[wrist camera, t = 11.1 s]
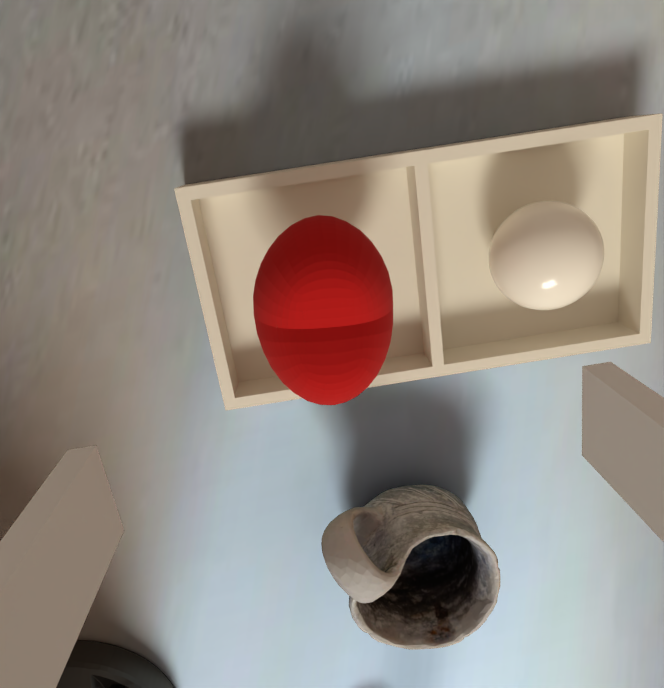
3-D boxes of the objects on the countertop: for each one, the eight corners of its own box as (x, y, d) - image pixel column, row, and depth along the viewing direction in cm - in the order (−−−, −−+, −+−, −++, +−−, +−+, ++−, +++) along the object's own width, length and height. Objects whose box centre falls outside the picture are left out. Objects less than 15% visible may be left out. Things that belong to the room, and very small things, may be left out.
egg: (477, 301, 35) (512, 332, 30) (471, 204, 33) (508, 216, 27) (572, 287, 35) (625, 314, 30) (572, 188, 33) (629, 197, 28)
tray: (230, 390, 37) (225, 410, 34) (184, 184, 32) (174, 188, 29) (623, 327, 37) (650, 342, 34) (630, 116, 33) (662, 113, 30)
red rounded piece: (248, 204, 32) (237, 231, 23) (370, 195, 33) (408, 219, 23) (264, 356, 35) (261, 434, 26) (375, 346, 36) (410, 420, 26)
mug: (420, 593, 43) (455, 717, 34) (277, 528, 41) (273, 644, 31) (494, 499, 41) (554, 605, 32) (348, 423, 38) (367, 515, 29)
